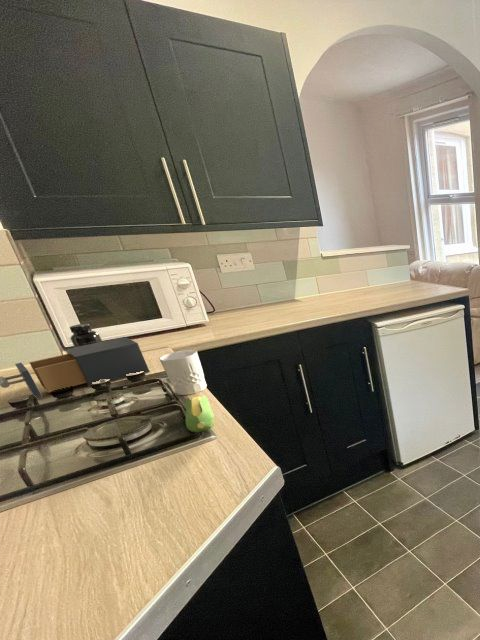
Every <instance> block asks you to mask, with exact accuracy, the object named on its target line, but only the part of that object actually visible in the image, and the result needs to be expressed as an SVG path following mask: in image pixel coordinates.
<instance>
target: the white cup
mask: <svg viewBox="0 0 480 640" xmlns="http://www.w3.org/2000/svg"><path fill="white" fill-rule="evenodd" d="M159 361H160V364H161V366H162V367H163V369H164V372H165V374H166V376H167V378H168V380H169V382H170V384H171V385H172V387H173V389H174V392H175V393H176V394H177V395H178V396H188V395H189V396H190V395H192V394H197V393H199V392H202V391H204V390H206V389H207V386H208V384H207V382H206V379H205V373H204V370H203V366H202V364H201V360H200V357H199V354H198V350H195V349H184V350H178V351H177V350H176V351H172V352H169V353H167V354H163V355H162V356H160V357H159Z"/></svg>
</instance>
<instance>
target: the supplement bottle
mask: <svg viewBox="0 0 480 640" xmlns="http://www.w3.org/2000/svg"><path fill="white" fill-rule="evenodd" d="M69 330H70V333H72V335H71V336H70V342H71V343H72V345H73V348H74V347H79V346H84V345H88V344H93V343H98V342H103V340H102V337H101V335H100V333H99V332H97V331H95V330H93V328H92V326H91V324H90V323H89V322H87V323H79V324H74V325H71V326H69Z"/></svg>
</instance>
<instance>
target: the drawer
mask: <svg viewBox="0 0 480 640" xmlns="http://www.w3.org/2000/svg"><path fill="white" fill-rule="evenodd" d="M28 363H29V365H30V367H31V369H32V370H33V372H34V374H35V376H36V378H37V379H38V381H39V384H40V385H41V386H42V388H43V389H44V390H45V391H46V392H47V393H53V392H54V391H53V390H57V389H60V390H62V389H61V388H64V389H66V388H65V387H68V388H71V387H70V386H72V387H76V386H79V385H80V386H81V385H83V384H86V383H87V381H86V379H85V377H84V375H83V373H82V371H81V369H80V367H79V365H78V363H77V361H76V359H75V358H74V357H73V356H71V355H70V354H67V353H65V354H61V355H56V356H51V357H47V358H42V359H37V360H32V361H29V362H28ZM14 365H15V367H16V368H17V370H18V372H19V374H15V375H11V376H6V377H5V376H0V387H1V388H2V389H6V388H9V387H10V386H11V385H15V384H20V383H23V382H24V383H25V385H26V386H27V388H28V389H29V391H30V392H31V394H32V396H34V395H35V396H36V397H35V396H34V397H35V399H36V398H40V397H43V395H42V393H41V391H40V389H39V387H38V386H37V384H36V382H35V380H34V379H33V377H32V375H31V373H30V371H29V370H28V369H27V367H26V366H25V365H24V364H23V363H22V362H18V363H15V364H14ZM17 378H21V379H17ZM14 379H17V380H14ZM9 380H13V381H9ZM52 391H53V392H52ZM57 391H58V390H57Z"/></svg>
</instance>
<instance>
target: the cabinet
mask: <svg viewBox="0 0 480 640" xmlns="http://www.w3.org/2000/svg"><path fill="white" fill-rule="evenodd" d="M65 352H66V354H70V355H71V356H73V357H74V358H75V359H76V361H77V363H78V365H79V367H80V369H81V371H82V373H83V375H84V377H85V379H86V381H87V383H85V384H86V386H88V387H89V388H92V387H91V384H92V382H96V381H99V380H100V379H110V381H111V382H116V381H120V380H123V379H127V378H126V374H129V373H136V372H140V371H144V372H145V373H144V374H146V373H149V372H150V369H149V367H148V364H147V362H146V360H145V357H144V355H143V353H142V350H141V348H140V346H139V343H138V342H137V341H135V340H132V339H130V338H128V337H126V336H122V337H117V338H113V339H107V340H104V341H103V340H102V342H98V343H93V344H88V345H84V346H79V347H74V346H73V347H71V348H66V349H65ZM111 382H110V383H111Z"/></svg>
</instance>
